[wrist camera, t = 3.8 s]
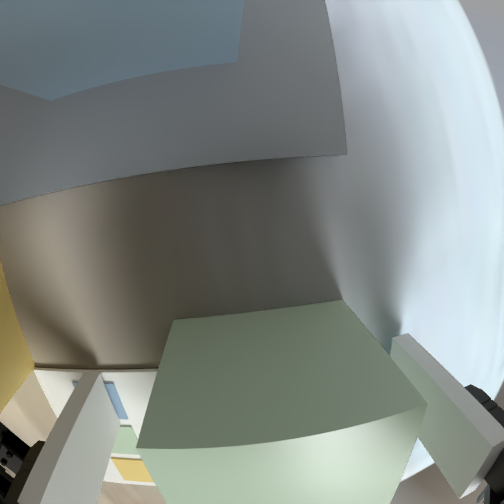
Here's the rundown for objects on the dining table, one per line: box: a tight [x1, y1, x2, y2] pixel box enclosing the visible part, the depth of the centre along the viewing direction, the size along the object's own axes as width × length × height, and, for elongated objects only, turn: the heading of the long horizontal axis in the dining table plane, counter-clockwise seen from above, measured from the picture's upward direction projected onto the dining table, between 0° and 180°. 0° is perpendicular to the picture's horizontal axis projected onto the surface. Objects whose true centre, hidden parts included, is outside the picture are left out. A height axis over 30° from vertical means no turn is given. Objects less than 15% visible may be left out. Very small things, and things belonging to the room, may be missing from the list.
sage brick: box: [136, 300, 428, 504], centre depth 9 cm, size 6×6×6 cm
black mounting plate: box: [0, 422, 31, 499], centre depth 11 cm, size 12×7×5 cm, turn 44°
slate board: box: [0, 0, 347, 205], centre depth 8 cm, size 12×12×1 cm
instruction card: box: [34, 367, 158, 486], centre depth 12 cm, size 8×6×1 cm
